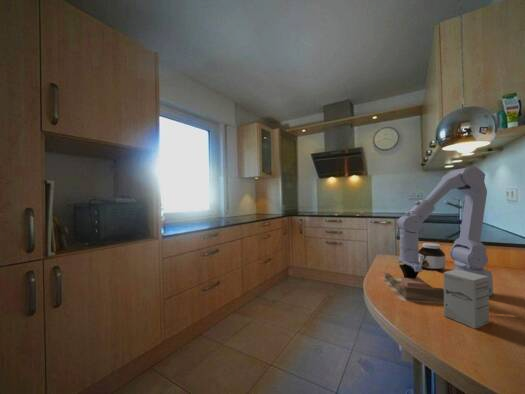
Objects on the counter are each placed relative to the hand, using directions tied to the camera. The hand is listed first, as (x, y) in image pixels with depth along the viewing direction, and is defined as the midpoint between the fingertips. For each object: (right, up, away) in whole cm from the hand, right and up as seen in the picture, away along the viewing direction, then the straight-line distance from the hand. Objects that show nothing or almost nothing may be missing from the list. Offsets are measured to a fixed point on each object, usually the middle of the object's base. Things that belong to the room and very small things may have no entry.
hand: (409, 285), depth 84 cm
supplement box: (+2, -1, -21) cm, 21 cm away
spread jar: (+23, -2, +24) cm, 33 cm away
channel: (0, -1, 0) cm, 1 cm away
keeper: (-1, -1, -4) cm, 4 cm away
